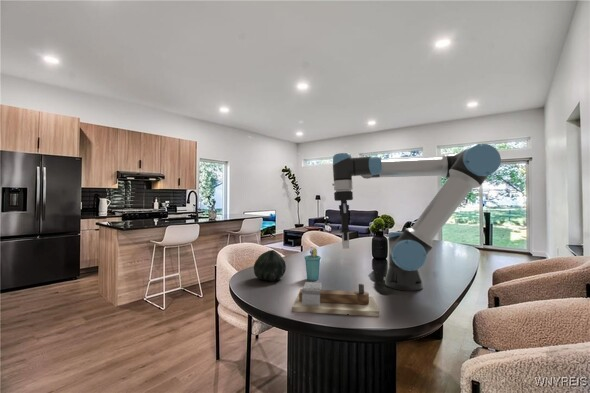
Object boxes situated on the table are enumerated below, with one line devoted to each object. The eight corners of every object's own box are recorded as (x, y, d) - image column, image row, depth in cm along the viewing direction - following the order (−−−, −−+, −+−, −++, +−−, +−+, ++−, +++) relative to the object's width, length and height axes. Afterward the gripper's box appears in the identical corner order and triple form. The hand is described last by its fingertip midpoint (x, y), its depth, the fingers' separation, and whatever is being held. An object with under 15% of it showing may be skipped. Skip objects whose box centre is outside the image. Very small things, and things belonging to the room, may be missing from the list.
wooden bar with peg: (368, 299, 98) (367, 282, 98) (369, 305, 93) (369, 287, 93) (300, 296, 102) (300, 280, 102) (298, 301, 97) (298, 284, 97)
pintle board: (373, 300, 102) (373, 296, 102) (379, 316, 88) (379, 311, 88) (298, 297, 106) (298, 293, 106) (292, 311, 92) (292, 306, 92)
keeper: (321, 296, 103) (321, 282, 103) (319, 306, 93) (319, 291, 93) (305, 295, 104) (305, 282, 104) (302, 305, 94) (302, 290, 94)
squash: (259, 263, 142) (255, 244, 133) (288, 264, 141) (286, 245, 131) (253, 287, 132) (248, 269, 122) (284, 289, 130) (282, 271, 120)
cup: (319, 284, 123) (319, 250, 123) (302, 283, 124) (302, 250, 125) (321, 276, 137) (321, 245, 137) (306, 275, 138) (305, 245, 138)
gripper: (333, 192, 122) (336, 246, 121) (334, 190, 109) (337, 251, 108) (351, 191, 121) (353, 245, 120) (353, 189, 108) (356, 250, 107)
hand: (345, 248), depth 114 cm, fingers closed
